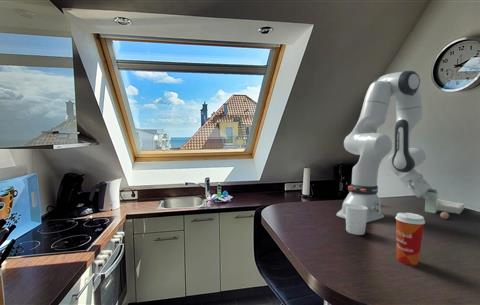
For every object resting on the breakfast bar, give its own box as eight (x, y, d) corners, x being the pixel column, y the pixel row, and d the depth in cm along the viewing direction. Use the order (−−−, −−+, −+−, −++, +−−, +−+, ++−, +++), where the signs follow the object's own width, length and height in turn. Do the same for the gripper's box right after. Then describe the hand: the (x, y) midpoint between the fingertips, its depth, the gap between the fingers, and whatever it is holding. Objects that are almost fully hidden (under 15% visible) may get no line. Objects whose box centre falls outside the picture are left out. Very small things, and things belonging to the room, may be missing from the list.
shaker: (435, 213, 135) (436, 190, 134) (424, 211, 138) (426, 189, 137) (437, 211, 138) (438, 189, 137) (426, 209, 141) (428, 188, 140)
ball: (448, 220, 124) (448, 213, 123) (439, 218, 126) (439, 211, 126) (449, 218, 126) (449, 212, 126) (440, 217, 128) (441, 210, 128)
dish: (459, 214, 134) (460, 208, 133) (430, 209, 142) (431, 203, 142) (463, 209, 143) (464, 203, 143) (436, 204, 152) (436, 199, 152)
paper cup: (387, 255, 86) (389, 211, 85) (410, 255, 86) (413, 211, 85) (404, 267, 78) (407, 219, 77) (429, 267, 79) (432, 219, 78)
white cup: (365, 229, 109) (366, 205, 108) (367, 236, 101) (369, 210, 100) (344, 227, 111) (345, 203, 110) (344, 233, 104) (346, 208, 103)
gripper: (411, 177, 134) (434, 200, 128) (421, 173, 149) (442, 194, 142) (401, 185, 138) (422, 208, 131) (411, 180, 152) (431, 201, 146)
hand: (433, 201), depth 137 cm, fingers closed on shaker, 4 cm apart
